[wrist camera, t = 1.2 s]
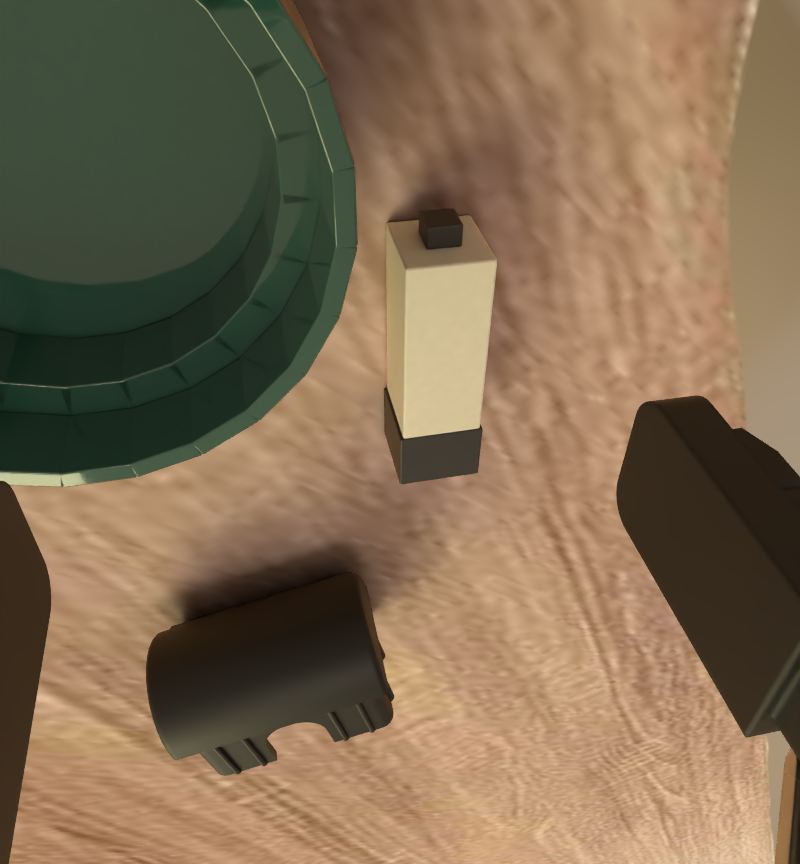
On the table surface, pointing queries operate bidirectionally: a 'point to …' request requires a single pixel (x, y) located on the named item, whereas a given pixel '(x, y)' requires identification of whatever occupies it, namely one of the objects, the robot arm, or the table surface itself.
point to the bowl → (161, 228)
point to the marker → (436, 343)
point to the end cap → (269, 674)
